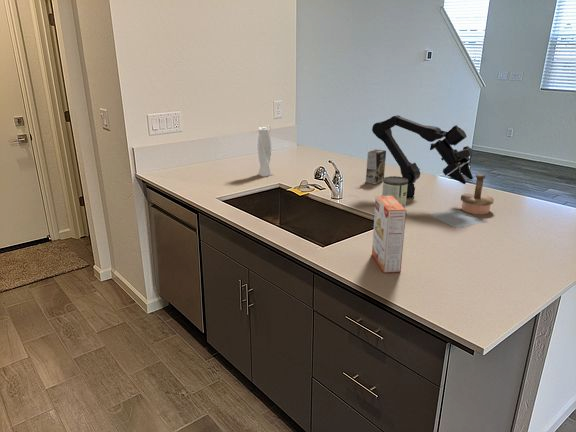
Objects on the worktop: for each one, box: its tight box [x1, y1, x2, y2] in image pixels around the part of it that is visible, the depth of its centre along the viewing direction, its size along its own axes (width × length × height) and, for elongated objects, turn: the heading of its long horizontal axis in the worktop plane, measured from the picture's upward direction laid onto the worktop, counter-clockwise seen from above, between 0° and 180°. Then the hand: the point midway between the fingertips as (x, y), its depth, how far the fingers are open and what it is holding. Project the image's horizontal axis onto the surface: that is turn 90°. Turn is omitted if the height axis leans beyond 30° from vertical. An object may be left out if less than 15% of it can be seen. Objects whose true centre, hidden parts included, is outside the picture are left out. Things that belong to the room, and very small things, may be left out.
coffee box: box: [365, 149, 387, 185], centre depth 233 cm, size 9×6×16 cm
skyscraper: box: [256, 124, 274, 178], centre depth 242 cm, size 8×8×28 cm
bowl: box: [461, 201, 491, 215], centre depth 193 cm, size 11×11×4 cm
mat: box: [428, 209, 487, 229], centre depth 184 cm, size 16×16×1 cm
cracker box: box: [371, 195, 407, 274], centre depth 142 cm, size 14×6×21 cm, turn 5°
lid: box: [460, 173, 495, 206], centre depth 190 cm, size 13×13×11 cm
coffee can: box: [381, 175, 408, 209], centre depth 190 cm, size 10×10×14 cm
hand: (468, 181), depth 192 cm, fingers open, 9 cm apart
